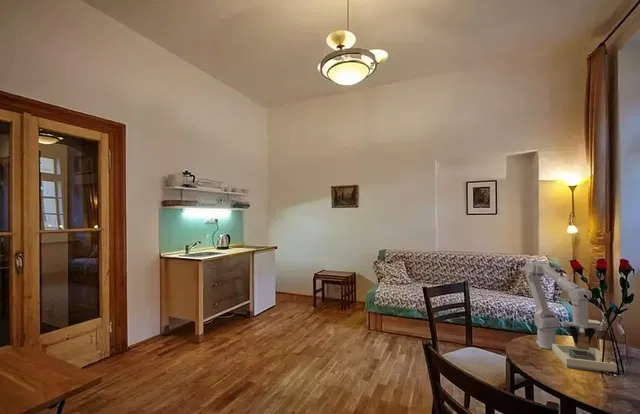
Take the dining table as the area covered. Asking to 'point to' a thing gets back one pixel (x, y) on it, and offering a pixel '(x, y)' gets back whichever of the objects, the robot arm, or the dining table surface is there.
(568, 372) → the dining table surface
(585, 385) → the dining table surface
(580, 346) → the peg
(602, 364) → the cream square tray
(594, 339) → the small box
